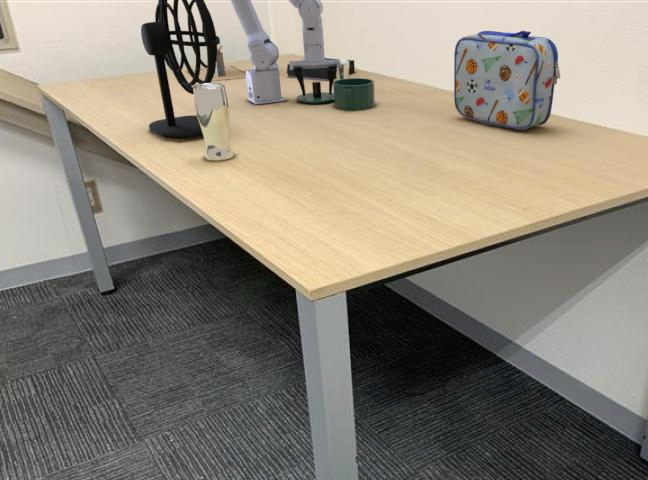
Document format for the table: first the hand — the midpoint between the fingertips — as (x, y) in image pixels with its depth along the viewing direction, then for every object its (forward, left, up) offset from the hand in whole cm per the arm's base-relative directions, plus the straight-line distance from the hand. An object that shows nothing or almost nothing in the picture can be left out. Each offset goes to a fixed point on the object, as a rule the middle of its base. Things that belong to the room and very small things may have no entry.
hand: (317, 94), depth 195 cm
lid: (0, 0, -1) cm, 1 cm away
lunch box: (+28, -52, -2) cm, 59 cm away
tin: (+6, -12, -2) cm, 14 cm away
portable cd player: (+18, +38, -2) cm, 42 cm away
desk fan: (-41, -15, -2) cm, 44 cm away
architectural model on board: (-12, +61, -2) cm, 62 cm away
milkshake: (+13, +8, -2) cm, 15 cm away
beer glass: (-42, -42, -2) cm, 59 cm away
